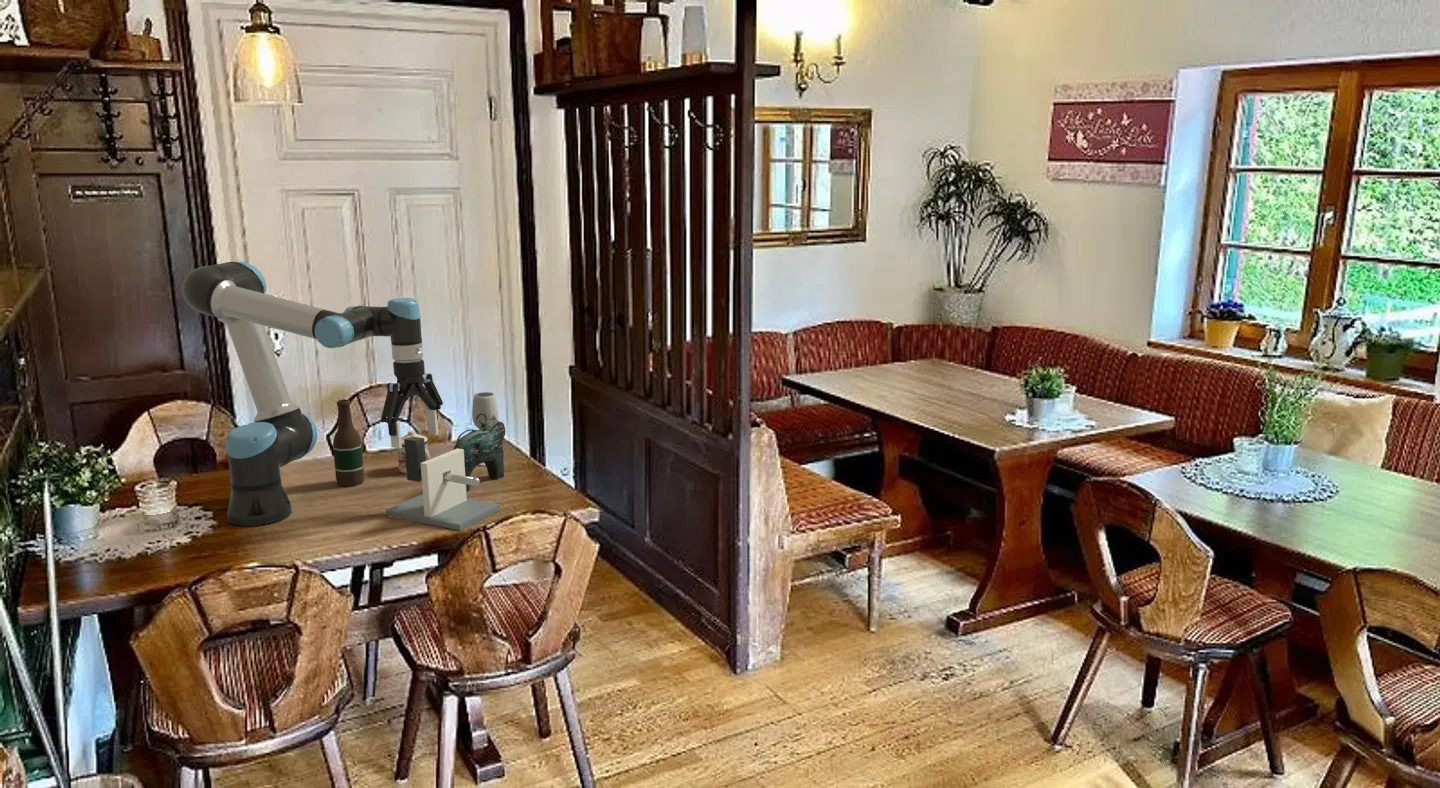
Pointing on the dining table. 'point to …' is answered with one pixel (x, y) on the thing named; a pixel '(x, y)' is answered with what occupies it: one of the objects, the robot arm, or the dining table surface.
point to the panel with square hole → (443, 496)
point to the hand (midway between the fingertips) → (415, 440)
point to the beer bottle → (347, 449)
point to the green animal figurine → (483, 448)
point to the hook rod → (417, 456)
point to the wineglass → (484, 408)
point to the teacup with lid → (402, 450)
